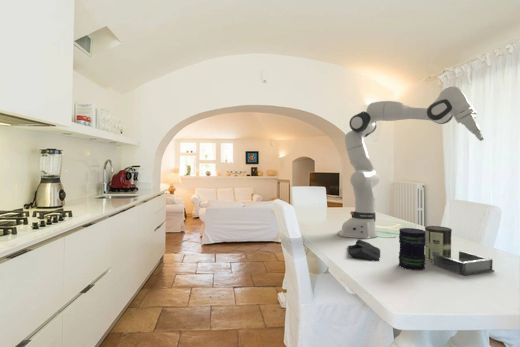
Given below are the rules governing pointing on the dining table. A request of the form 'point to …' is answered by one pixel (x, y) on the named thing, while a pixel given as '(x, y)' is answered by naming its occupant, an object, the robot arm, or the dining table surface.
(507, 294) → the dining table surface
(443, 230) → the coffee can
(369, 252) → the dark slate chunk
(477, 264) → the receiver bay
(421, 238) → the storage jar
